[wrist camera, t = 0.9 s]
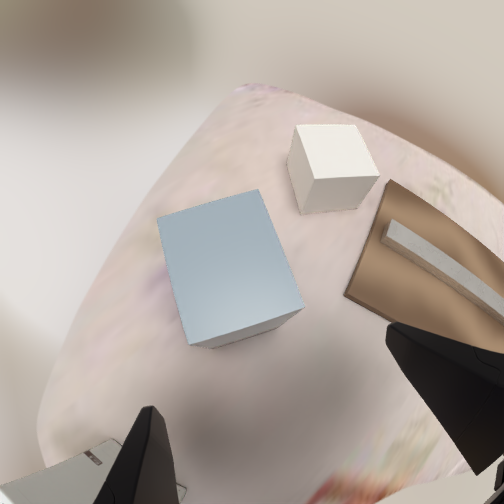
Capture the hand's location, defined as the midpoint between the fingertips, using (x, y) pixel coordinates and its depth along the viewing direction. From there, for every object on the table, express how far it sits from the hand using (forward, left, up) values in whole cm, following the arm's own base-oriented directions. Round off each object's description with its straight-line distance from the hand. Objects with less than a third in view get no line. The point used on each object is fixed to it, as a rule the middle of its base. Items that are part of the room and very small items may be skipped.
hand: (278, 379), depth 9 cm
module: (+5, +2, -13) cm, 14 cm away
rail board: (+7, -21, -13) cm, 26 cm away
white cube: (+17, -6, -13) cm, 22 cm away
